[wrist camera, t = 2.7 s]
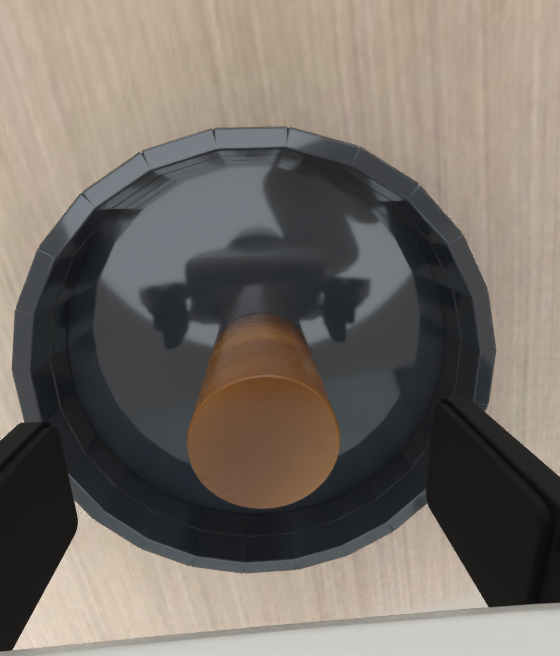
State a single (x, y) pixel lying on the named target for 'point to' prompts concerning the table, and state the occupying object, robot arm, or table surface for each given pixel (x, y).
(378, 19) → the table surface
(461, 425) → the robot arm
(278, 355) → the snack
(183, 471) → the slate bowl
